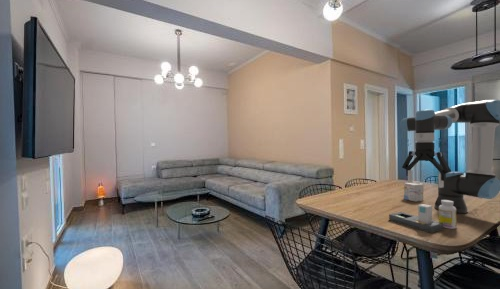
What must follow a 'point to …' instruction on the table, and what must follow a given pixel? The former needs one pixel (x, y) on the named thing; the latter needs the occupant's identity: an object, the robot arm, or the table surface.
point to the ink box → (413, 191)
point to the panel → (415, 222)
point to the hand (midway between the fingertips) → (424, 185)
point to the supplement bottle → (447, 214)
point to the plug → (425, 213)
